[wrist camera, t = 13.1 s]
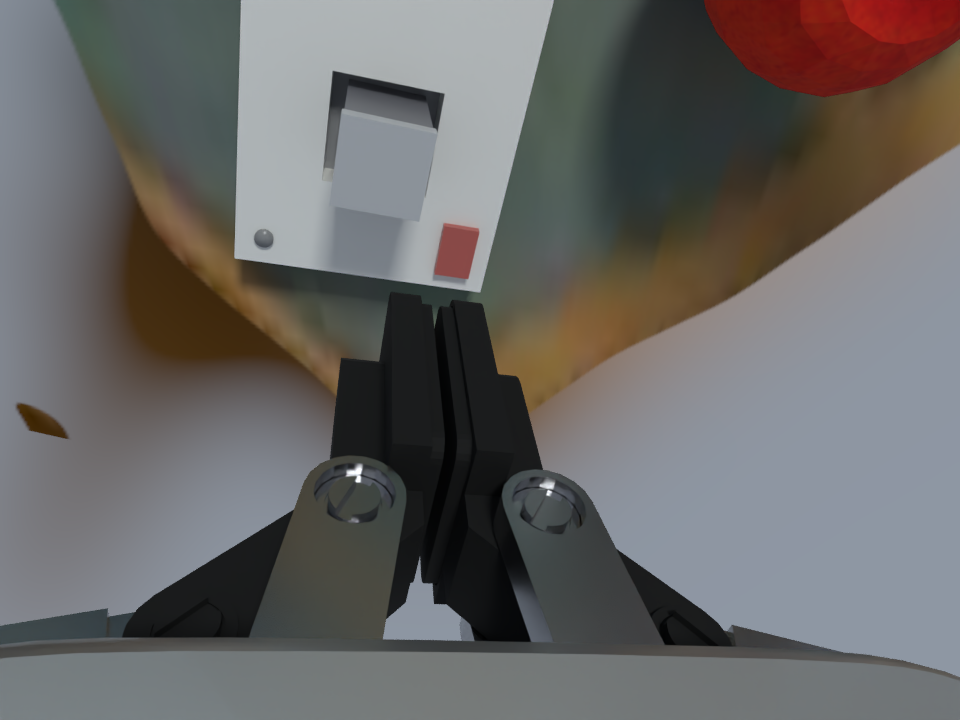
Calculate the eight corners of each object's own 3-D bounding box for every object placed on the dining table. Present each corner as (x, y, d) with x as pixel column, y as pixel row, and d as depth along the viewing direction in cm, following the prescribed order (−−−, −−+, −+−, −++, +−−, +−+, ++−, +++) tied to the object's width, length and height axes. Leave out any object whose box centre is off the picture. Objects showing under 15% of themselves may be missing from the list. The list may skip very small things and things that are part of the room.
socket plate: (544, -10, 34) (557, -2, 31) (475, 273, 42) (481, 296, 40) (251, -82, 30) (241, -80, 28) (242, 239, 39) (232, 262, 37)
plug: (428, 94, 35) (437, 134, 30) (412, 171, 38) (419, 221, 32) (347, 76, 34) (341, 113, 29) (336, 156, 37) (329, 205, 31)
